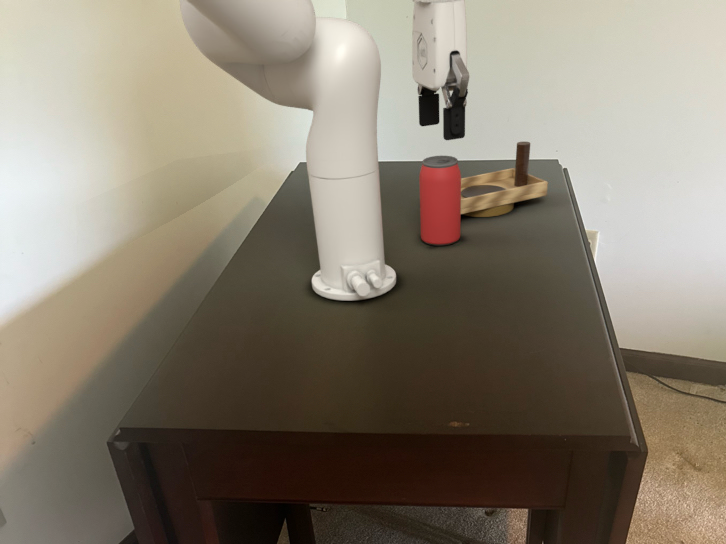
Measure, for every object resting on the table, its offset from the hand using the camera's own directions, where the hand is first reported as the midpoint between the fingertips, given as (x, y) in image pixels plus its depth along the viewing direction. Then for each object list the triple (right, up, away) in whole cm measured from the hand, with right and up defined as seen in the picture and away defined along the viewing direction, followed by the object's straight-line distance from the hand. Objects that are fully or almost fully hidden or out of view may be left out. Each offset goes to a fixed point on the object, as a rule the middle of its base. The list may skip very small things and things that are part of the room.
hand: (441, 131), depth 102 cm
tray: (+9, +1, +21) cm, 23 cm away
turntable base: (+9, -1, +22) cm, 24 cm away
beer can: (0, -12, +11) cm, 16 cm away
